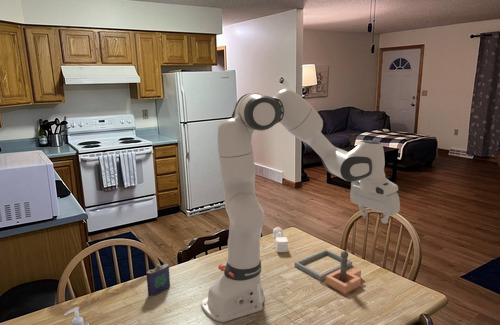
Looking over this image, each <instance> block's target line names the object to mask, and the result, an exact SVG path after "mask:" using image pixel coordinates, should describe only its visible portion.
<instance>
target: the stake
mask: <svg viewBox="0 0 500 325" xmlns="http://www.w3.org/2000/svg"><path fill="white" fill-rule="evenodd" d="M340 256H341V261H340V265H341V271H340V279H339V281H341V282H343V283H346V282H348V281H346V274H347V272H348V267H347V259H348V257H349V252H348V251H346V250H342V251H341V252H340ZM325 282H326V279H324V280H321V282H320V283H319V284H321V285H322V286H324V287H326V288H328V289H329V290H331V291H333V292H335V293H336V294H339V295H340V296H342V297H344V298H348V297H349V296H351V295H353V294H355V293H357V292H359V291H360V290H362V289H364V288H365V287H367V285H365V284H363V283H362V282H361V285H360V286H359V287H357V288H355V289H353V290H351V291H350V292H348V293H346V294H344V293H342V292H340V291H338V290H337V289H335V288H333V287H331V286H329V285H328V284H326V283H325Z"/></svg>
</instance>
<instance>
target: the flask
mask: <svg viewBox="0 0 500 325" xmlns="http://www.w3.org/2000/svg"><path fill="white" fill-rule="evenodd" d="M145 275H146V282H147V283H146V284H147V295H148V297H154V296H156V295H159V294H161V293H162V292H164V291H166V290H169V288H170V287H171V281H170V278H171V277H170V276H171V275H170V265H169V263H164V264H160V263H156V266H155V267H154V268H153V269H149V270H147V272H146V273H145Z"/></svg>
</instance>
